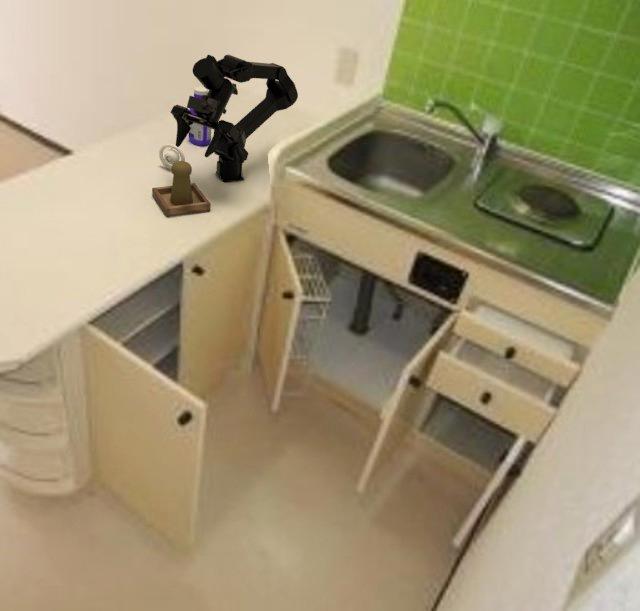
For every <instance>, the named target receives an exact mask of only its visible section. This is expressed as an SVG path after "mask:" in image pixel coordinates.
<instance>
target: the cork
mask: <svg viewBox="0 0 640 611" xmlns="http://www.w3.org/2000/svg"><path fill="white" fill-rule="evenodd" d="M171 166H172V168H171V174H172V175H173V179H172V185H171V186H172V191H171V198H170V202H171V203H172V204H173V205H176V206H179V205H186V204H192V203H193V197H192V190H191V183H192V182H191V175H192V172H193V168H192V165H191V164H190V163H189V162H188V161H186V160H185V161H181V160H179V161H177V162H174V163H173V165H171Z"/></svg>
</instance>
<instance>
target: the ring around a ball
mask: <svg viewBox="0 0 640 611" xmlns="http://www.w3.org/2000/svg"><path fill="white" fill-rule="evenodd" d="M168 148H171V149H168ZM165 149H168V150H166V151H165ZM164 151H165V153H164ZM158 155H159V156H158V157H159V159H160V160H159V161H160V162H161V163H162V165H163V166H164V167H165V168H167V169H168V170H171V168H172V165H173V163H174V162H177V161H185V162H186V159H185V158H186V157H185V154H184V152H183V151H182V149H181V148H180V146H179V147H177V146H176V144H174V143H165V144H164V145H162V146H161V147H160V149H159V152H158ZM171 171H172V170H171Z"/></svg>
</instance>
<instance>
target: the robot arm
mask: <svg viewBox="0 0 640 611" xmlns="http://www.w3.org/2000/svg"><path fill="white" fill-rule="evenodd" d="M192 73H193V76H194V77H195V78H196V79H197V80H198V81H199V82H200V84H201V85H202V87H204V88H206V89H208V93H207V95H206V96H205V95H203V96H202V97H201V99H199V98H196V97H194V95H189V97H188V101H187V105H186V106H182V105H179V104H176V105H173V107H172V108H171V110H170V114H171V115H172V116H173V118H174V119H175V121H176V129H177V130H176V137H175V145H176V146H177V147H179V148H180V146H181V145H182V144H183V142H184V140H185V139H186V137H187V136H188V135H189V131H190V130H191V127H190V125H192V124H193V122H194V123H197V124H199V125H202V126H205V127H208V128H211V130H213V136H212V137H211V141H210V143H209V144H208V145H207V148H206V150H205V152H204V157H205V158H209V157H210V156H211V155H213V154H214V155H216V156H218V160H217V161H216V170H215V175H217V176H218V178H220V180H221V181H222V182H224V183H229V182H230V183H231V182H236V181H237V182H238V181H244V180H245V177H244V176H243V164H244V163H245V162H246V161H248V156H249V151H247V150H246V142H247V139H248V138H249V137H250V136H251V135H252V134H254V133H255V132H256V131H257V130H258V129H259V128H260V127H261V126H262V125H263V124H264V123H266V121H268V120H269V119H270V118H271V117H272V116H273V115H274V114H276V112H279V111H284V110H287V109H289V108H290V107H292V106H293V105H294V104H295V103H296V102H297V100H298V98H299V93H298V89H297V87H296V84H295V82H294V81H293V80H292V78H291V77H290V76H289V75H288V74H289V73H288V72H287V70H286V68H285V67H284V66H282V65H280V64H277V63H274V62H270V63H269V62H268V63H265V62H256V61H255V62H254V61H247V60H245V59H241V58H239V57H237V56H234V55H231V54H225V55H223V58H221V59H219V60H217V59H216V57H215V56H213V55H211V54H207V56H206V57H203V58H201V59H199V60H198V61H196V62H195V63H194V65H193V67H192ZM251 79H262V80H266V82H265V85H266V87H267V89H266V91H265V92H266V93H265V98H263V99H262V100H261V101H260V102H259V103H258V104H257V105H255V107H253V108H252V109H251V110H250V111H249V112H247V114H246V115H244V116H243V117H242V118H241V119H240V120H238V122H237V123H236V124H234V123H233V122H230V121H227V120H224V119H221V117H222V115H226V114H227V109H226V107H227V105H228V104H229V100H230V99H231V97H232V95H235V96H238V94H239V92H238V89H237V83H233V82H232V81H235V82H238V83H239V84H240V83H241V84H242V83H246V82H249V81H251ZM231 80H232V81H231ZM190 108H192V109H193V112H194V113H196V114H197V115H193V114H192V113H191V112H190V111H189V110H190ZM220 119H221V120H220ZM201 121H202V122H201Z"/></svg>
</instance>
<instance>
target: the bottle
mask: <svg viewBox="0 0 640 611" xmlns="http://www.w3.org/2000/svg"><path fill="white" fill-rule="evenodd" d="M193 90H194V91H193V97H196V98H199V99H201V97H202V96H203V95H205V96H206V95H207V93H208V91H209V90H208V89H206V88H205V87H204V86H196V87H194V88H193ZM189 111H190V112H191V113H192V114H193V115H197V114H196V113H194V112H193V109H192V108H190V109H189ZM201 122H202V121H201ZM190 127H191V130H190V131H189V133H188V141H189V142H191V144H194V145H197V146H200V147H204V146H208V145H209V144H210V142H211V140H212V129H211V128H208V127H205V126H202V125H199V124H197V123H194V122H193V124H192V125H190Z"/></svg>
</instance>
